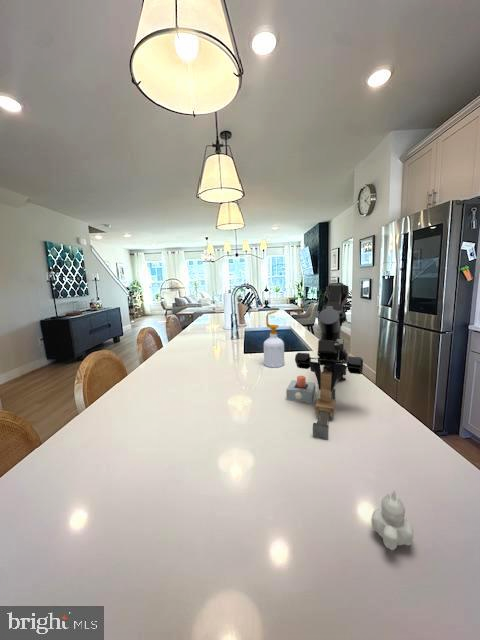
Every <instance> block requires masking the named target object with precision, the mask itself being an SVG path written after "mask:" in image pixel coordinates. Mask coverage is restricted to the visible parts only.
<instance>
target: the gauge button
mask: <svg viewBox="0 0 480 640" xmlns="http://www.w3.org/2000/svg"><path fill="white" fill-rule="evenodd" d="M306 379H307V378H306V376H304V375H298V376H297V377H296V381H297V388H300V389H306V382H307V381H306Z"/></svg>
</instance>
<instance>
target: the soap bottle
mask: <svg viewBox="0 0 480 640" xmlns="http://www.w3.org/2000/svg"><path fill="white" fill-rule="evenodd" d="M277 312H278V310H277V309H276V310H272V311H270V312H268V313H267V314H266V316H265V317H266V320H265V322H266V323H265V324H266V327H267V328H268V329H270V330H271V331H270V332H269V337H268V338H267V339H266V340H264V341H263V364H264V366H266V367H268V368H281V367H283V366H284V365H285V342H284V340H282V339H281V338H279V336H278V332H277V331H276V330H277V328H279V324H269V315H271V314H275V313H277Z"/></svg>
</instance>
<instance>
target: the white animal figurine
mask: <svg viewBox="0 0 480 640" xmlns="http://www.w3.org/2000/svg"><path fill="white" fill-rule="evenodd" d="M391 493H392V494H390V493H387V494H386V495H385V496H383V497H382V499H381V506H380V507H379V508H376V509H375V510H374V511H373V513H372V515H371V527H372V529H373V530H374V532H376V533H378V535H379V537H381V538H382V540H383V544H384V546H385V548H387V549H389V550H391V551H395V550H396V549H397V547H398V546H403V545H405V546H411V545H412V543H413V540H414V528H413V525H412V524H411V522H410V521H409V520H408V519H407V518H408V517H407V516H406V506H405V504H404V503H403V502H402V500H401V498H400V497H399V496H397V494H396V490H395V489H393V491H392V492H391Z"/></svg>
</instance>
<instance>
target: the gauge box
mask: <svg viewBox="0 0 480 640" xmlns="http://www.w3.org/2000/svg"><path fill="white" fill-rule="evenodd" d="M285 391H286V393H285V394H286V400H289V401H294V402H299V403H300V402H301V403H307V404H312V403H313V401H314V398H315V396H316V383H315V382H311V381H306V389H300V388H297V380H296V379H295V380H293V379H291V381H290V383H289V384H288V386H287V387H286V390H285Z"/></svg>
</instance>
